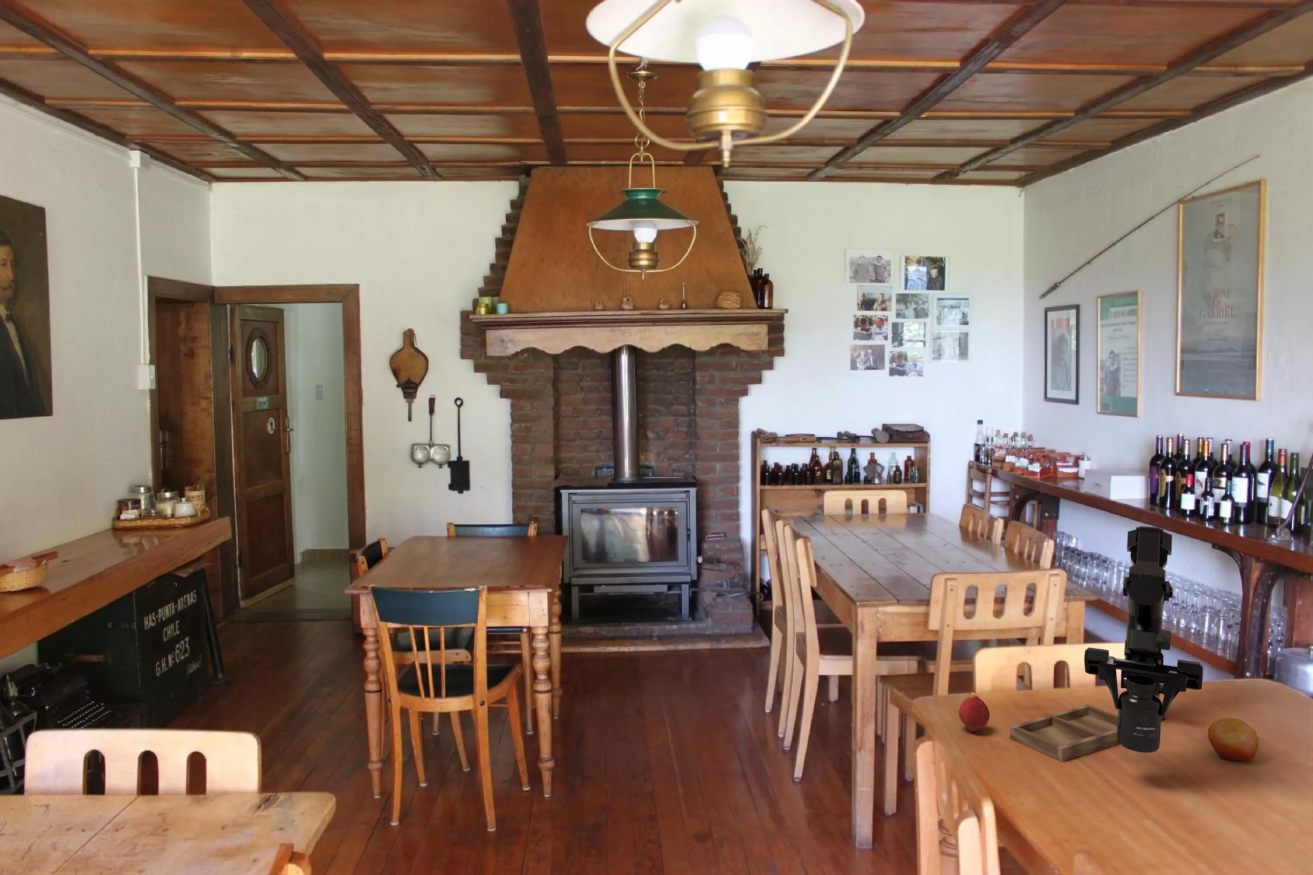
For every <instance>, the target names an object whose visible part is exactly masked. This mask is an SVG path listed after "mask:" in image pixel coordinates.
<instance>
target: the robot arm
mask: <svg viewBox="0 0 1313 875" xmlns="http://www.w3.org/2000/svg"><path fill="white" fill-rule="evenodd" d="M1126 539H1127V540H1126V552H1128V553H1130V554H1129V556H1130V561H1131V564H1132V565H1131V566H1129V567H1128V568H1129V569H1128V576H1124V578H1123V584H1122V597H1127V622H1126V638H1125V640H1124V650H1123V651H1124V652H1123V653H1124V654H1123V656H1124V658H1116V657H1115V656H1112V655H1110V649H1104V648H1097V647H1088V648H1086V649H1085V651H1084V657H1083V660H1084V661H1083V662H1084V672H1085V674H1088V675H1094V676H1098V680H1101V681H1104V682H1105V684H1106V686H1107V688H1108V690H1109V692H1110V694H1111V695H1110V696H1111V697H1112V701H1113V705H1114V707H1115V710H1117V711H1118V707H1119V696H1120V695H1119V687H1118V676H1117V674H1118V672H1117V670H1120V689H1126V688H1125V685H1126V678H1127V677H1129V676H1144V677H1148V678H1151V679H1153V680H1155V681H1156V682H1157V693H1156V694H1155V695H1156V696H1158V697H1159V698H1160V695H1163V697H1162V698H1163V699H1162V718H1161V721H1163V720H1166V719H1167V718H1166V714H1167V712H1168V710H1169V709H1170V706H1171V704H1172V703H1173V701H1174V700H1175V698H1176V697H1177V696H1178V695H1179V693H1181V692H1182V693H1186V692H1187V690H1189V689H1190V690H1193V691H1194V690H1195V691H1200V690H1202V688H1203V681H1204V680H1203V679H1204V678H1203V677H1204V666H1203V665H1202V663H1201V662H1200V661H1192V660H1185V659H1177V660H1176V666H1174V665H1167V664H1164V659H1165V657H1164V654H1163V653H1162V650H1163V651H1171V642H1172V641H1171V640H1172V638H1171V637H1172V636H1171V635H1172V631H1171V630H1164V629H1163V615H1164V614H1163V611H1164V605H1165V601H1166V602H1169V601H1170V599H1173V598H1174V587H1173V586H1172V585H1171V583H1170V580H1166V570H1165V568H1166V566H1167V565H1168V558H1169V556H1172V554H1173V553H1172V548H1173V535H1172V534H1171V533H1168V532H1166V531H1164V529H1163V528H1161V527H1158V526H1144V525H1143V526H1142V525H1140V526H1136V528H1135V529H1132V530H1129V531H1127V538H1126Z"/></svg>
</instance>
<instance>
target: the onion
mask: <svg viewBox="0 0 1313 875" xmlns="http://www.w3.org/2000/svg"><path fill="white" fill-rule="evenodd" d="M958 716H959V720H960V721H961V722H962V723H963V725H964V726H965V727H966V728H968V729H969V730H970V731H971V732H978V731H979V730H982V729H984V728H985V726H987V724H988V722H989V721H990V716H991V715H990V710H989V707H988V706H987V704H986V703H985V702H984V700H983V699H981V698H980V697H979V696H978V695H977V694H976V693H975V692H970V696H969V697H967V698H965V699H964V700H962V702H961V704H960V706H959V708H958Z"/></svg>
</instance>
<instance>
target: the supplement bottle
mask: <svg viewBox="0 0 1313 875" xmlns="http://www.w3.org/2000/svg"><path fill="white" fill-rule="evenodd" d="M1125 679H1126V685H1125V688H1124V689H1125V690H1123V691H1121V693H1120V694H1119V695H1118V696H1119V707H1118V710H1117V716H1118V721H1117V741H1118V743H1119V746H1121V747H1122V748H1124V749H1125V750H1126V749H1127V750H1130V751H1132V752H1137V753H1144V754H1145V753H1146V754H1149V753H1150V754H1151V753H1155V752H1157V751H1159V749H1160V748H1161V746H1160V744H1161V736H1162V735H1161V730H1162V720H1161V718H1162V703H1163V701H1162V699H1160V697H1158V696H1156V695H1155V694H1156V693H1157V682H1156V681H1155V680H1153V679H1151V678H1148V677H1144V676H1129V677H1127V678H1125Z"/></svg>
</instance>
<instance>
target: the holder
mask: <svg viewBox="0 0 1313 875" xmlns="http://www.w3.org/2000/svg"><path fill="white" fill-rule="evenodd" d="M1117 721H1118V715H1116V714H1113V713H1111V712H1108V711H1105V710H1103V709H1100V708H1097V707H1095V706H1092V705H1090V704H1085V705H1081V706H1078V707H1074V708H1070V709H1067V710H1063V711H1059V712H1056V713H1055V712H1054V713H1053V714H1049V715H1045V716H1041V717H1039V718H1036V719H1031V720H1027V721H1024V722H1020V723H1017V724H1014V725H1010V726H1009V739H1010V740H1012V741H1015V742H1017V743H1019V744H1021V745H1023V746H1026V747H1029V749H1032V750H1035V751H1037V752H1040V753H1041V754H1044V755H1046V756H1049V757H1051V758H1052V759H1055V760H1057V761H1059V762H1062V763H1063V762H1065V761H1069V760H1072V759H1074V758H1075V759H1076V758H1078V757H1081V756H1085V755H1087V754H1091V753H1094V752H1097V751H1100V750H1103V749H1106V748H1109V747H1112V746H1115V745H1118V744H1119V743H1118V741H1117ZM1119 745H1120V744H1119Z"/></svg>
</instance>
